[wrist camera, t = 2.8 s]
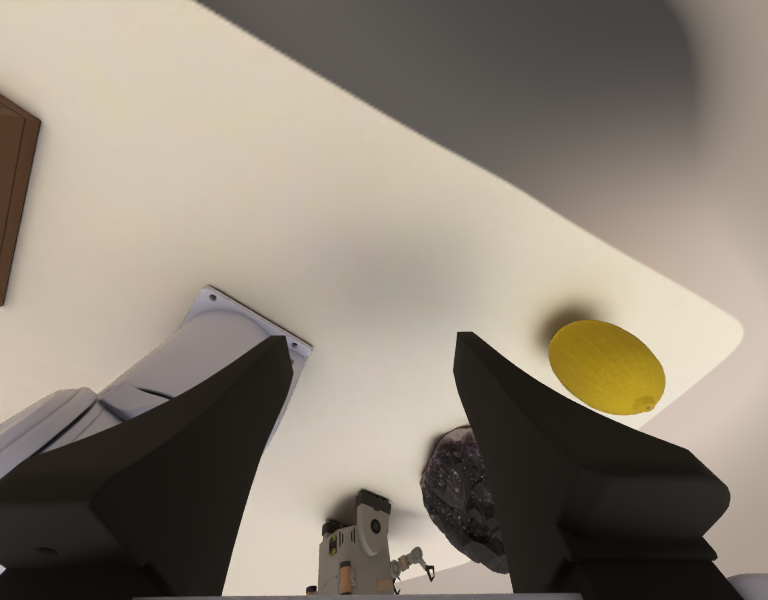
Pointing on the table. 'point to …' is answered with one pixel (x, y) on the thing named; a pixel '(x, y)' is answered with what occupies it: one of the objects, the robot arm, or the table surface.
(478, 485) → the crystal cluster
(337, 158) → the table surface
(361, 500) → the figurine
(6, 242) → the tray
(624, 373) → the lemon
